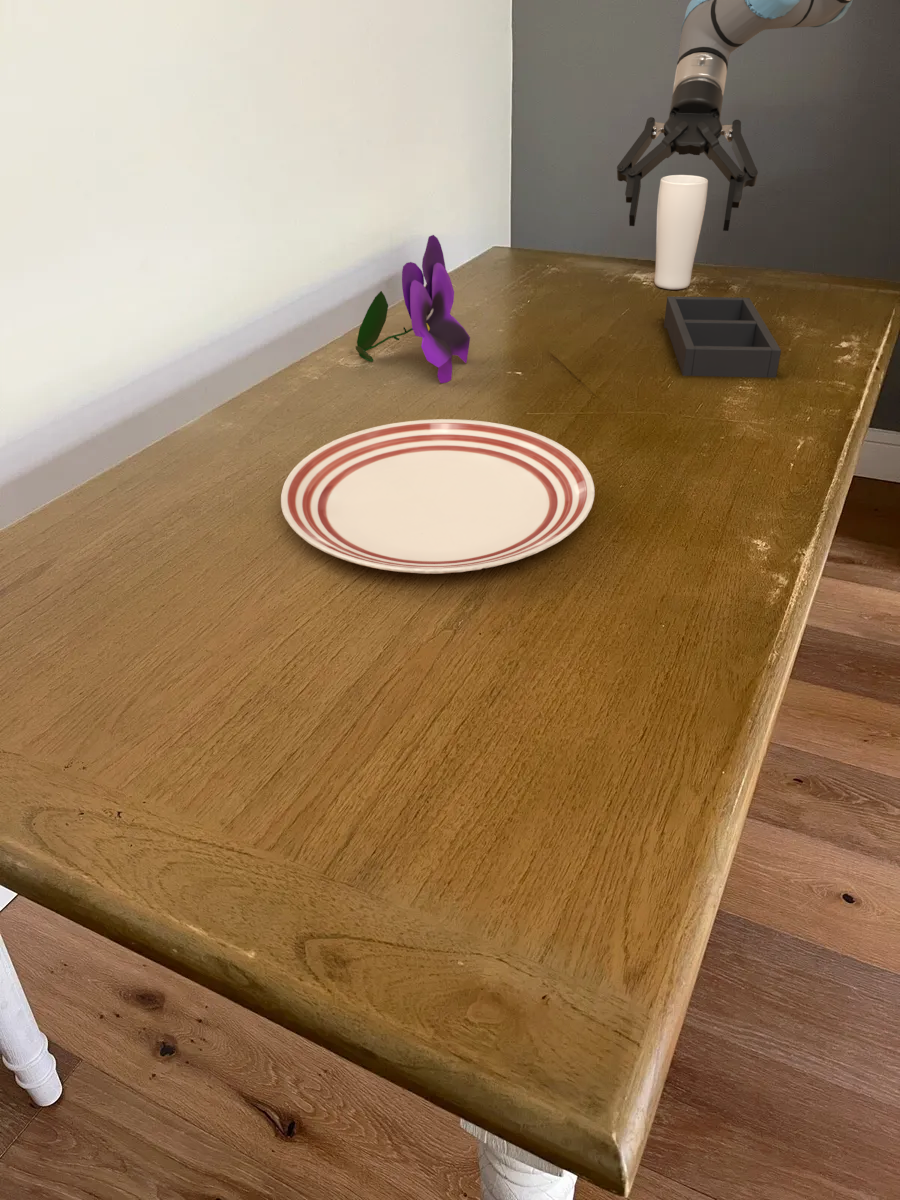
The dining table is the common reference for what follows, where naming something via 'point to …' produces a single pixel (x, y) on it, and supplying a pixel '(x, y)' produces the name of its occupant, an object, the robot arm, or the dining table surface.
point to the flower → (422, 313)
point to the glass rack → (720, 337)
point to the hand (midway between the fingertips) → (678, 223)
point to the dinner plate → (437, 496)
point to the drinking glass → (678, 228)
